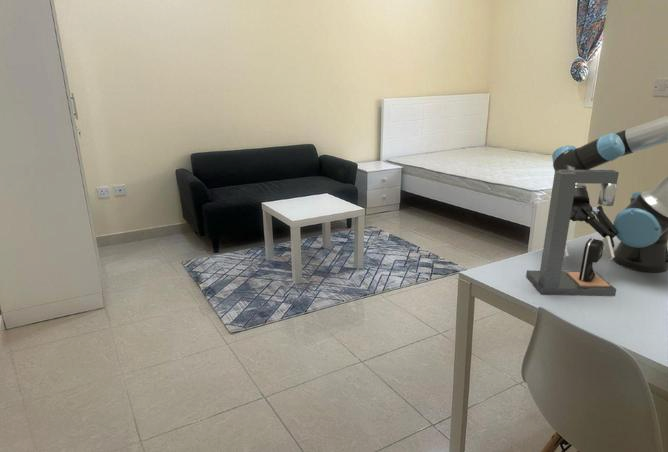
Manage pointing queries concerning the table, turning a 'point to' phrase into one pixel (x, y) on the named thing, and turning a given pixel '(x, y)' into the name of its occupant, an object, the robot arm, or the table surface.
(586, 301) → the table surface
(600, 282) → the pad
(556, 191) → the arbor press
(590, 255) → the battery charger
